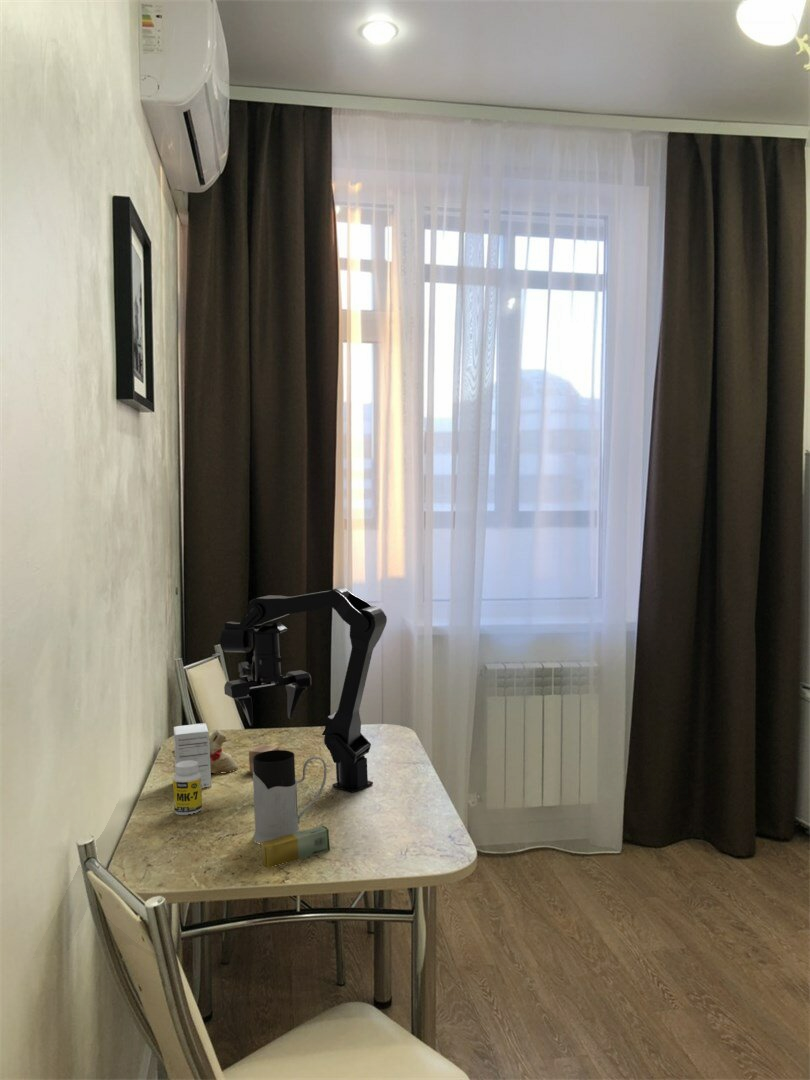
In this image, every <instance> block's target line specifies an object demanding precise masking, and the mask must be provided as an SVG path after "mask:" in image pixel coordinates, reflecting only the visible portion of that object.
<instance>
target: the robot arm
mask: <svg viewBox="0 0 810 1080" xmlns="http://www.w3.org/2000/svg"><path fill="white" fill-rule="evenodd" d="M330 608H332V609H333V610H335V611H336V613H337V614H338V615H339V617H340V618H341V619H342V621H343V622H345V623H346V624H347V625H349V638H350V645H351V650H350V654H349V658H348V659H349V660H348V663H347V668H346V673H345V676H344V681H343V685H342V690H341V695H340V699H339V704H338V708H337V710H336V711H335V712H333V713H332V714H330V715H328V716H326V719H325V727H324V729H323V732H322V734H321V735H322V736H324V737H323V739H324V740H323V743H324V746H326V748H327V750H328V751H329V754H330V756H331V759H332V761H333V763H335V775H336V782H334V783H332V784H331V785H332V787H333V788H336V789H339V790H342V791H347V792H348V793H349V792H350V793H355V792H357V791H360V790H363V789H365V788H367V787H371V786H372V785H373V784H374V782H373V781H372V780H371V781H370V780H368V779H369V778H368V777H369V775H368V758H367V757H366V754H369V752H370V749H371V748H372V747H371V746H372V744H371V742H370V741H369V740H368V739H367V738H366V737H365V736H364V735H363V734H362V732H361V731H362V730H361V729H362V721H361V714H360V708H361V703H362V699H363V695H364V690H365V686H366V681H367V677H368V673H369V669H370V666H371V665H370V664H371V660H372V656H373V652H374V649H375V647H376V645H377V644H378V642H379V640H380V639H381V638H382V635H383V632H384V630H385V628H386V625H387V622H388V621H387V620H388V618H387V615H386V613H385V612H384V611H383V609H382V608H381V607H379V606H374V605H372V604H370V603H369V602H368V601H366V600H364V599H362V598H360V597H359V596H357V595H355V594H353V593H352V592H351V591H349V590H348V589H347V588H345V587H337V588H332V589H331V590H326V591H325V590H324V591H319V592H318V591H317V592H311V593H305V594H300V595H295V596H285V595H275V594H274V595H266V596H265V595H263V596H260V597H256V598H253V599H251V600H250V601H249V603H248V605H247V609H246V613H245V615H244V616H243V617H242V619H241V621H239V622H236V621H227V622H225V623H224V626H223V627H224V628H223V630H222V632H221V635H220V638H219V645H220V647H221V650H222V651H223V652H225V653H250V652H251V651H252V649H253V656H252V658H251V664H250V663H249V662H248V661H242V662H239V663H238V675H239V678H240V679H234V680H228V681H226V682H225V683H224V686H223V689H224V690H223V691H224V695H226V696H228V697H230V698H232V699H234V700H235V701H237V702H238V703H239V704H240V707H242V710H243V712H244V715H245V717H246V719H247V722H248V725H249V726H253V723H254V715H253V711H254V710H253V698H252V696H250V695H249V694H250V692H251V691H256V690H263V689H269V688H276V687H283V686H285V690H286V693H287V695H286V696H287V702H286V704H287V711H286V712H287V718H288V719H293V718H292V717H293V715H294V713H295V709H296V707H297V704H298V701H299V699H300V697H301V695H303V692H304V691H306V690H307V688H308V686H312V683H313V682H312V676H311V674H310V673H309V672H306V671H304V670H301V669H299V670H292V671H288V672H286V675H285V676H283V674H282V671H281V669H282V668H281V663H282V662H283V657H282V656H280V636H279V635H280V634H282V633H284V632H287V631H288V628H287V627H286V626H285V625H284V624H282V622H281V621H275V620H278V619H281V618H284V617H286V616H288V615H291V614H298V613H304V612H311V611H316V610H317V611H318V610H323V609H330ZM272 621H274V622H273V624H266V623H268V622H272ZM257 626H260V627H259V628H255V627H257ZM241 678H247V680H248V681H246V680H244V679H241Z"/></svg>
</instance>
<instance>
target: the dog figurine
mask: <svg viewBox="0 0 810 1080" xmlns="http://www.w3.org/2000/svg"><path fill="white" fill-rule="evenodd" d="M226 739H227V736H226V735H225V734H224V733H222V732H220V731H219V730H218V729H216V730H215V731H213V733H212V734H211V735H210V736H209V746H210V768H211V773H221V772H230V771H233V770H236V769H238V770H239V767H238V766H239V765H238V764H237V763H236V761H235V759H234V758H233V756H232V755H231V754H230V753H227V752H224V751H223V748H222V745H223V743H224V742H225V741H226ZM236 771H237V770H236ZM233 772H234V771H233ZM230 773H231V772H230Z"/></svg>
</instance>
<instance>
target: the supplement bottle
mask: <svg viewBox="0 0 810 1080" xmlns="http://www.w3.org/2000/svg"><path fill="white" fill-rule="evenodd" d="M198 770H199V766H198V762H197V761H193V760H188V761H182V762H178V763H176V764H175V763H174V773H175V774H174V775H173V778H172V785H173V786H172V787H173V788H172V789H173V812H174V813H175V814H176V815H178V816H189V815H188V814H191V815H194V814H193V813H195V814H197V813H196V812H198V811H199V810H201V811H202V809H203V793H202V789H203V788H201V774H200V773H199V772H198ZM198 813H199V812H198Z"/></svg>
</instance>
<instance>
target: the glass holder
mask: <svg viewBox="0 0 810 1080" xmlns="http://www.w3.org/2000/svg"><path fill="white" fill-rule="evenodd" d="M313 760H320V761H321V762H322V763H323V768H324V770H323V779H322V783H321V786H320V788H319V791H318V792H317V794H316V795H315V796H314V798H313V799H312V800H311V801H310V803H309V804H307V805H306V807H305V808H303V809H302V810H301V812H300V813H299V811H298V788H297V784H300V783H302V782H304V781H305V780H306V779H305V778H306V769H307V766H308V764H309V762H311V761H313ZM253 764H254V771H253V772H252V781H253V782H252V783H253V786H252V787H253V802H254V803H253V804H254V806H253V808H254V810H253V811H254V827H255V831H254V835H253V838H254V840H255V841H256V842H258V843H260V844H261V842H264V841H268V840H271V839H275V838H278V837H282V836H286V835H289V834H293V833H296V832H300V831H301V829H299V828H300V827H299V824H300V820H301V817H303V815H304V814H305V813H306V812H307V811H308V809H309V808H310V807H311V806H313V804H314V803H315V802H316V801H317V800H318V799H319V797H320V796H321V794H322V792H323V790H324V787H325V784H326V781H327V775H328V774H327V769H328V768H327V763H326V762H325V760H324V759H323V758H321V757H319V756H311V757H309V758H308V759H306V761H305V762H304V764H303V768H302V778H301V779H298V780H296V768H295V767H296V766H295V765H296V763H295V753H294V752H292V751H290V750H282V749H279V750H272V751H266V752H262V753H259V754H257V755H255V756H254V757H253ZM298 813H299V814H298ZM253 838H252V839H253ZM254 840H253V841H254ZM256 842H255V843H256ZM260 844H259V845H260Z"/></svg>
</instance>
